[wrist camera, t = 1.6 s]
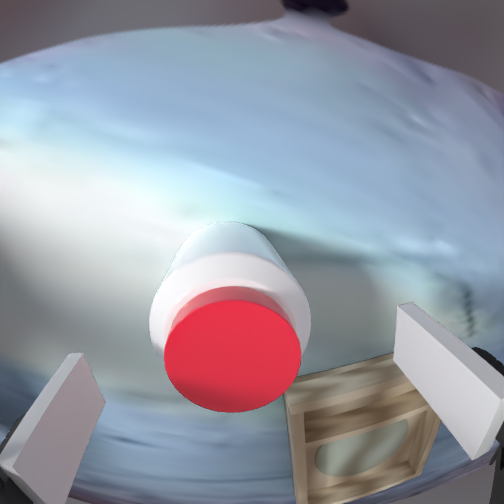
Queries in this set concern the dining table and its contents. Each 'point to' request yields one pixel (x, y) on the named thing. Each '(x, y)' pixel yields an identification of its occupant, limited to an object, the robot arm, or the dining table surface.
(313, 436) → the crate
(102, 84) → the dining table surface
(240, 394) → the pill bottle
